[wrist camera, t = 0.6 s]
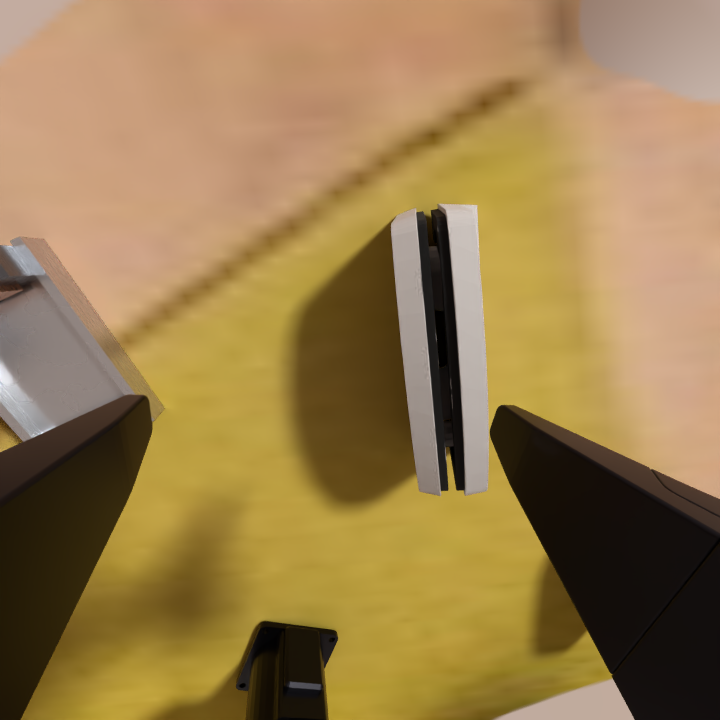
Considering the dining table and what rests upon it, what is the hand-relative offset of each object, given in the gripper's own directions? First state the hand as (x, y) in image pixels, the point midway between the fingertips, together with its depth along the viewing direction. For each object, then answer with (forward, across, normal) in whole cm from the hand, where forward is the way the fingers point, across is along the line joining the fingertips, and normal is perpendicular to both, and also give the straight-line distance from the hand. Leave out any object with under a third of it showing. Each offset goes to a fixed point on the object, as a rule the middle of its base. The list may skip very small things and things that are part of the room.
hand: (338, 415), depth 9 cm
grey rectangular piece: (+13, +14, +5) cm, 20 cm away
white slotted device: (+14, -8, +3) cm, 17 cm away
